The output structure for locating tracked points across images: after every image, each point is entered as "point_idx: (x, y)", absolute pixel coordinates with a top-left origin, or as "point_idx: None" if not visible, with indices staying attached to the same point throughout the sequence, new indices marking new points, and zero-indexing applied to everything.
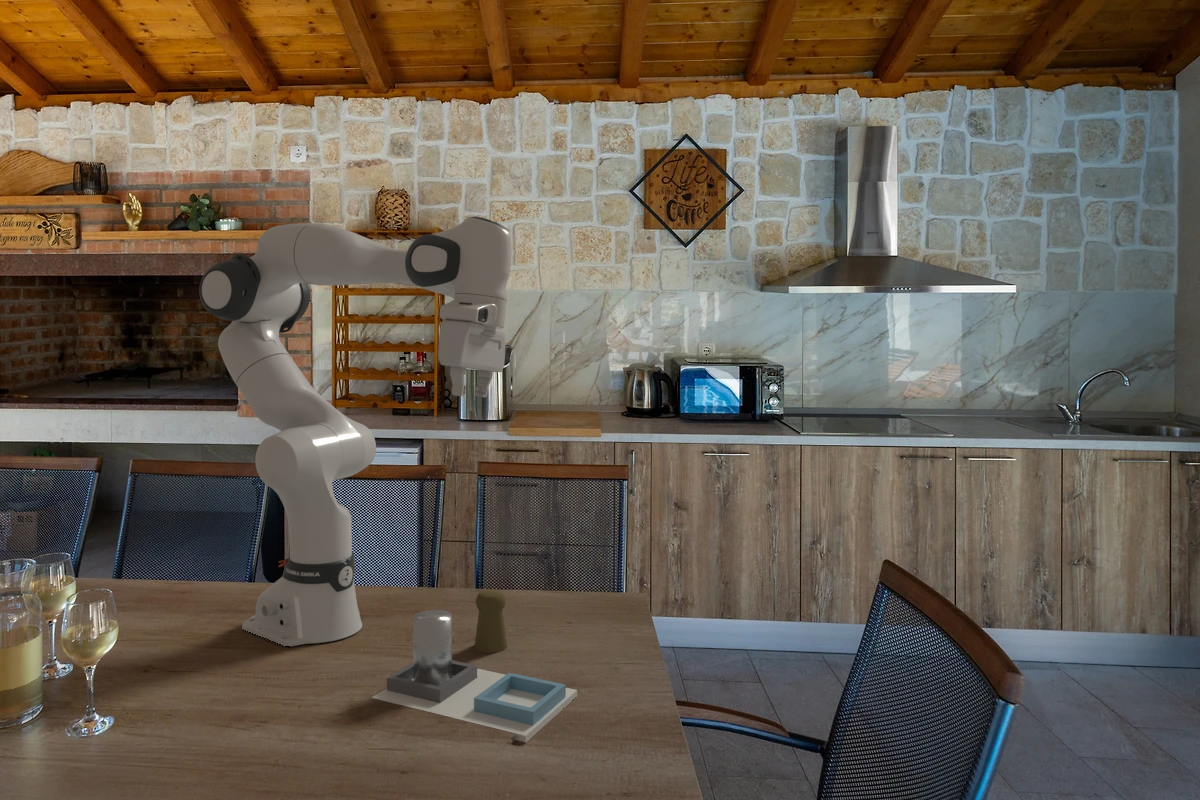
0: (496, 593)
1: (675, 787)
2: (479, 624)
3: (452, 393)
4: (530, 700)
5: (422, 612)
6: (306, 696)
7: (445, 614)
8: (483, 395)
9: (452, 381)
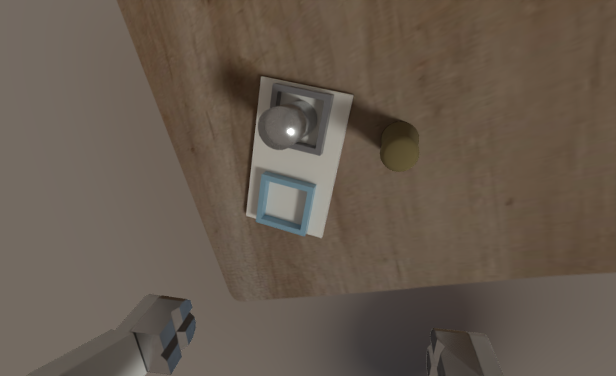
0: (395, 164)
1: (233, 296)
2: (387, 137)
3: (147, 297)
4: (294, 207)
5: (284, 112)
6: (257, 4)
7: (286, 141)
8: (428, 367)
9: (93, 342)
